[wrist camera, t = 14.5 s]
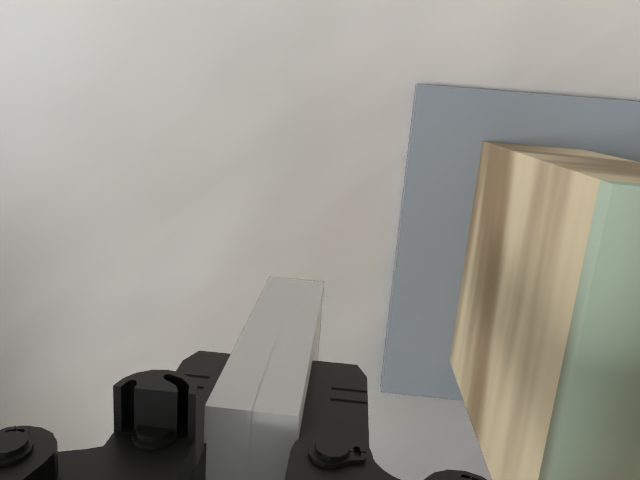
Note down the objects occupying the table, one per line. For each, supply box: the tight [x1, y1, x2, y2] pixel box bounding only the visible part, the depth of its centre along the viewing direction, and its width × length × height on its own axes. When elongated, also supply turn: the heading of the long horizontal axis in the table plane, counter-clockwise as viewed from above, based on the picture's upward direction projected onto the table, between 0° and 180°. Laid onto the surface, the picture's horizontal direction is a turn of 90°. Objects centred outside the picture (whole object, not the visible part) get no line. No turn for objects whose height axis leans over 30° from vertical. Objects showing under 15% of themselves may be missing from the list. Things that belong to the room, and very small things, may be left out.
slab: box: [450, 141, 640, 480], centre depth 18 cm, size 4×10×12 cm, turn 176°
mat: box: [380, 84, 640, 401], centre depth 24 cm, size 20×14×1 cm
